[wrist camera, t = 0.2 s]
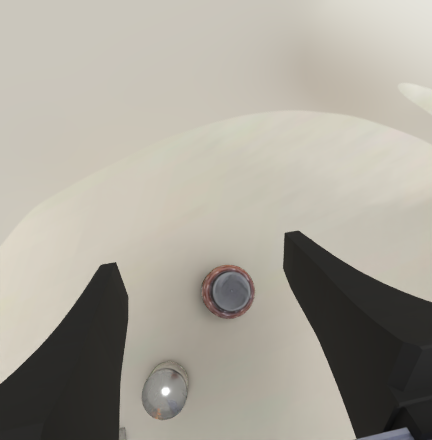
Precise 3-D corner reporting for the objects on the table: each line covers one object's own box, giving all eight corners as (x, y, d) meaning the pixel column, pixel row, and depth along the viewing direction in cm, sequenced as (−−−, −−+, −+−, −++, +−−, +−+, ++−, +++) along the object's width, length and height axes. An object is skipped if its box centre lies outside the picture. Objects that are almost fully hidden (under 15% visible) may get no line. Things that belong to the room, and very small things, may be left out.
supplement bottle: (194, 303, 42) (192, 307, 31) (210, 262, 44) (214, 253, 33) (235, 320, 42) (248, 330, 31) (250, 278, 44) (267, 274, 33)
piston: (191, 399, 40) (190, 414, 35) (151, 408, 39) (144, 424, 34) (184, 357, 41) (183, 366, 36) (145, 365, 40) (138, 375, 36)
